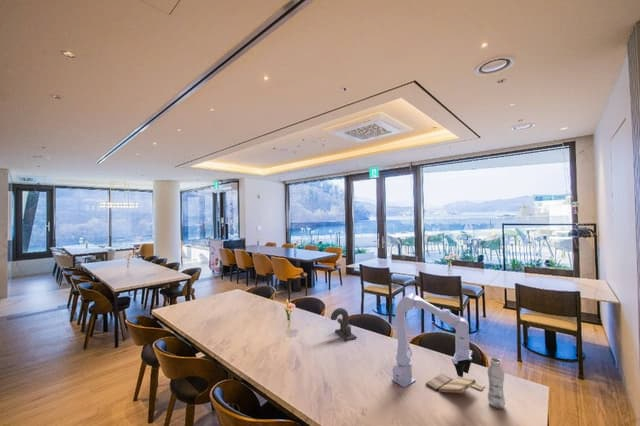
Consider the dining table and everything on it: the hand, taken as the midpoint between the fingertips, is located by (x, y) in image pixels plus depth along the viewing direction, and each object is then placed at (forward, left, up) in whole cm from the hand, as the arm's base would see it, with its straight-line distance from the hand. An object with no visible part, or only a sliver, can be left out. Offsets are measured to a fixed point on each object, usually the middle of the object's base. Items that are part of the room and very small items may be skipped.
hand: (462, 374), depth 127 cm
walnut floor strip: (0, +12, -10) cm, 16 cm away
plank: (+12, +3, -10) cm, 16 cm away
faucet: (-5, +84, -10) cm, 85 cm away
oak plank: (0, +3, -7) cm, 8 cm away
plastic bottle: (+5, -12, -10) cm, 16 cm away
